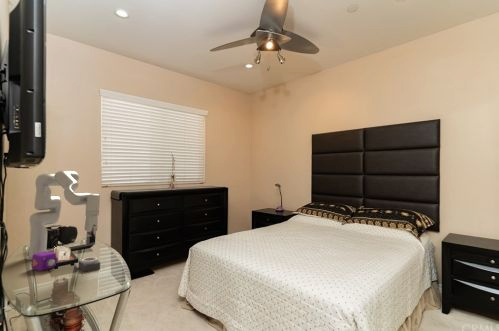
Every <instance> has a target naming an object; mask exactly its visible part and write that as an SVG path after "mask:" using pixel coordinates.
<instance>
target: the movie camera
mask: <svg viewBox="0 0 499 331" xmlns="http://www.w3.org/2000/svg"><path fill="white" fill-rule="evenodd" d="M44 226H45V228H46V229H47V231H48V233H47V249H46V250H48V248H50V249H53V248H52V247H54V246H56V247H57V245H59V243H61V244H63V245H69V244H72V243H75V241H76V240H77V237H78V228H77V226H73V225H69V226H66V225H61V224H49V225H44ZM54 248H55V247H54Z"/></svg>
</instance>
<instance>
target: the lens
mask: <svg viewBox="0 0 499 331" xmlns="http://www.w3.org/2000/svg"><path fill="white" fill-rule="evenodd" d="M92 233H93V232H92ZM85 238H86V240H85V245H86V246H87V247H89V246H90V247H91V246H95V245H96V241H95V242H94V243H89V239H90V232H87V231H86V237H85ZM95 239H96V236H95Z"/></svg>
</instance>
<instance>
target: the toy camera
mask: <svg viewBox="0 0 499 331" xmlns="http://www.w3.org/2000/svg"><path fill="white" fill-rule="evenodd" d="M31 261H32V262H31V268H32V269H33V270H35V271H38V272H42V271H47V270H50V269H52V268H55V267H56V265H57V263H58V259H57V253H56V252H54V251H49V250H46V251H45V252H41V253H37V254H34V255H33V257H32V260H31ZM54 266H55V267H54Z"/></svg>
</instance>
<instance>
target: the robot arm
mask: <svg viewBox="0 0 499 331" xmlns="http://www.w3.org/2000/svg"><path fill="white" fill-rule="evenodd" d="M79 179H80V176H79V174H78V173H77V172H76V171H74V170H73V171H72V170H60V171H57V172H55V173H41V174H39V175H38V176H37V177H36V178H35V184H34V185H35V190H36V192H35V197H34V209H35V210H37V211H38V212H34V213H32V214H31V215H30V216H29V219H28V220H29V227H30V234H29V248H28V251H29V252H28V255H27V256H26V257H25V260H28V261H32V257H33V255H34V254H37V253H41V252H45V251H47V250H48V249H47V233H48V231H47V229H46V228H45V226H48V225H55V224H56V223H58V221H59V220H60V216H61V211H62V210H61V209H62V200H61V198H60V196H56V195H51V194H52V189H51V187H53V186H54V187H55V186H57V187H59V186H60V187H61V188H63V196H64V199H65V200H66V201H67V202H68V203H69V204H70V205H71V206H82V205H83V206H84V205H85V212H84V213H85V215H84V216H85V220H84V231H86V233H87V232H90V239H89V243H94V242H95V243H96V238H95V236H96V233H97V231H98V223H99V222H98V221H99V220H98V217H99V215H100V202H101V201H100V199H101V196H100V194H98V193H91V192H83V193H80V192H78V193H76V192H75V191H76V190H77V189H78V187H79V183H78V182H79ZM92 232H93V233H92Z"/></svg>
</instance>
